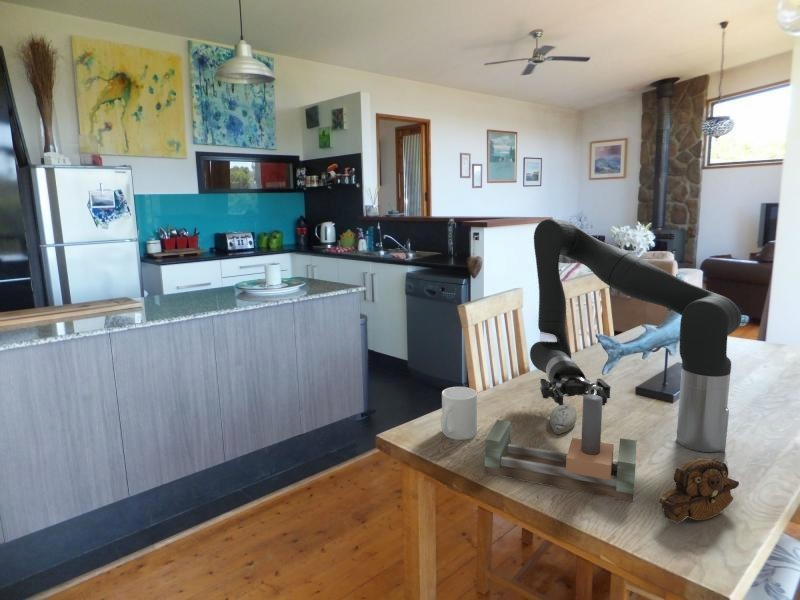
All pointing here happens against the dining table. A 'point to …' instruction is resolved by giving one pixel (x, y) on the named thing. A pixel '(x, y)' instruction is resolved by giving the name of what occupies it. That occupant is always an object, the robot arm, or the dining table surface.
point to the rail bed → (556, 465)
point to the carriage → (590, 444)
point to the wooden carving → (698, 491)
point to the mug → (459, 413)
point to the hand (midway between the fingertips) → (582, 401)
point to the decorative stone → (563, 418)
